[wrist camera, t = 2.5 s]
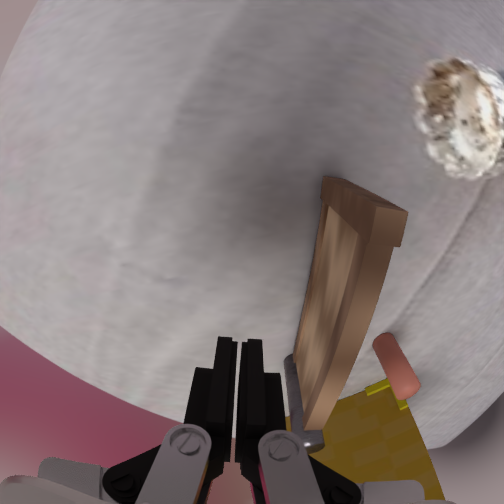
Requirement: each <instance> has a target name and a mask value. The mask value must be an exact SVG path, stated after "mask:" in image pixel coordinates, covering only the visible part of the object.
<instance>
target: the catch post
mask: <svg viewBox="0 0 504 504" xmlns="http://www.w3.org/2000/svg"><path fill="white" fill-rule="evenodd" d="M373 349H374V351H375V353H376V355H377V357H378V359H379V361H380V363H381V365H382V367H383V369H384V372H385V374H386V376H387V378H388V380H389V382H390V385H391V387H392V389H393V391H394V393H395V396H396V398H397V399H398V400H405V399H408V398H410V397H411V396H413V395H414V394H415V393H417V392H418V390H419V389H420V387H421V384H420V382H419V380H418V378H417V376H416V375H415V373H414V371H413V369H412V367H411V366H410V364H409V362H408V360H407V359H406V357H405V355H404V353H403V352H402V350H401V348H400V347H399V345H398V343H397V342H396V340H395V338H394V337H393V335H392V334H391V333H383V334H381V335H379V336H378V337H377V338H376V339H375V340H374V342H373Z"/></svg>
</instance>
